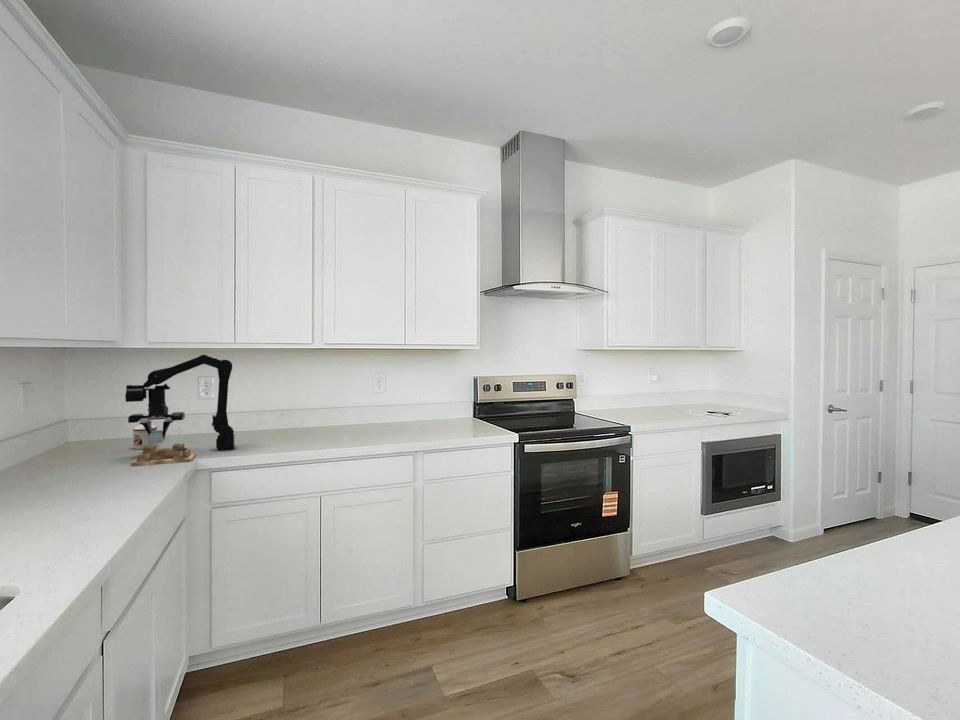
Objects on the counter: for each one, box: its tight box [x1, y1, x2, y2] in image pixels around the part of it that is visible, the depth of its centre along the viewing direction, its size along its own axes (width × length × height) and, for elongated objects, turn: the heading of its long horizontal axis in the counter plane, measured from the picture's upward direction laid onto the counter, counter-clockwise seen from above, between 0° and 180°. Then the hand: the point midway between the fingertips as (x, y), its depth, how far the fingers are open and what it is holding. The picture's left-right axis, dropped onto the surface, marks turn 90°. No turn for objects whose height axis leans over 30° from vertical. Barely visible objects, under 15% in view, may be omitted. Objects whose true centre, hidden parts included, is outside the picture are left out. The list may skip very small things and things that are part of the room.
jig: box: [129, 447, 197, 467], centre depth 185 cm, size 20×9×4 cm, turn 112°
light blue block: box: [149, 429, 167, 444], centre depth 194 cm, size 4×8×4 cm, turn 22°
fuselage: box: [142, 442, 185, 460], centre depth 185 cm, size 13×4×5 cm, turn 112°
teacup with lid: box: [132, 423, 158, 450], centre depth 208 cm, size 12×9×12 cm
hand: (157, 437), depth 193 cm, fingers closed on light blue block, 4 cm apart
